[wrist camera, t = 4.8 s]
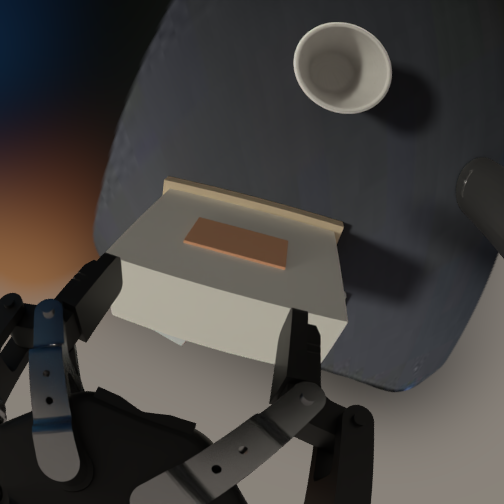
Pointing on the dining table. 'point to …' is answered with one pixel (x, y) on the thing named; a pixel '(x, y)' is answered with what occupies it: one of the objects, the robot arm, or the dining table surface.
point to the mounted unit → (230, 270)
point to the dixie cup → (342, 68)
